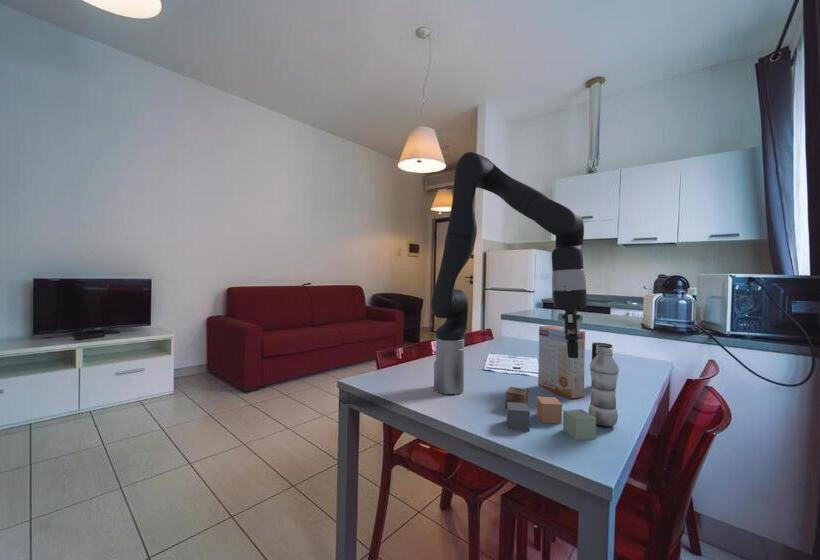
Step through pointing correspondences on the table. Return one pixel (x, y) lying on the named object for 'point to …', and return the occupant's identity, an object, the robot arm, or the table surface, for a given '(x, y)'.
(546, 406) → the terracotta cube
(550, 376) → the cracker box
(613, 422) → the plastic bottle
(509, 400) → the walnut cube
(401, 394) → the table surface
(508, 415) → the charcoal cube
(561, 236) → the robot arm
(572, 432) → the sage cube
